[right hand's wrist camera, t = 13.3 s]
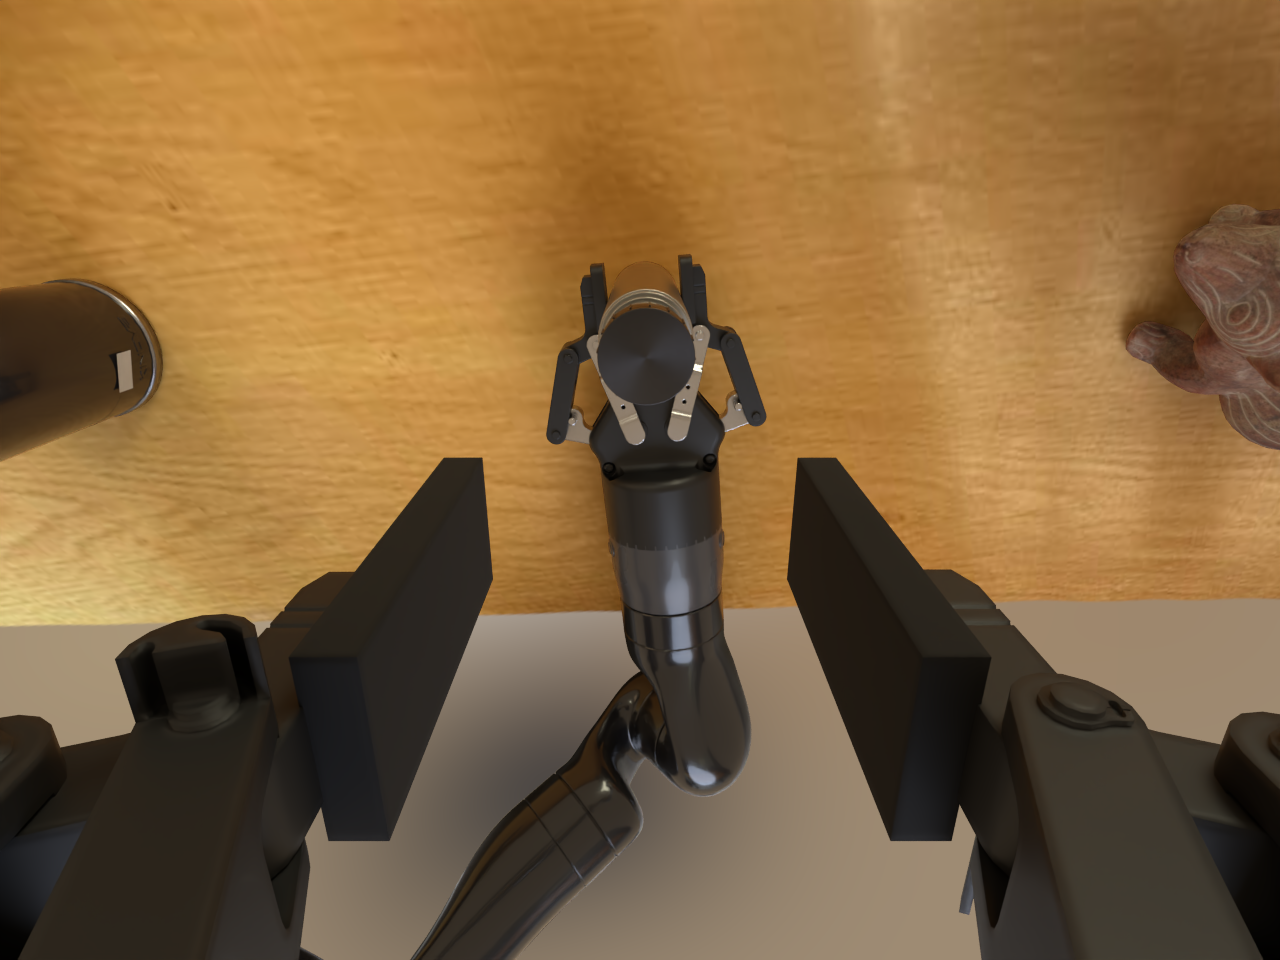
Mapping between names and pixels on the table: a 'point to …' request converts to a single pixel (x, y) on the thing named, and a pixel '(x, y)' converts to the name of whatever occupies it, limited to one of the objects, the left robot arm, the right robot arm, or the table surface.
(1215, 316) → the sculpture
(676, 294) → the bottle
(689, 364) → the cap
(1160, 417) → the table surface
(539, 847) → the left robot arm
